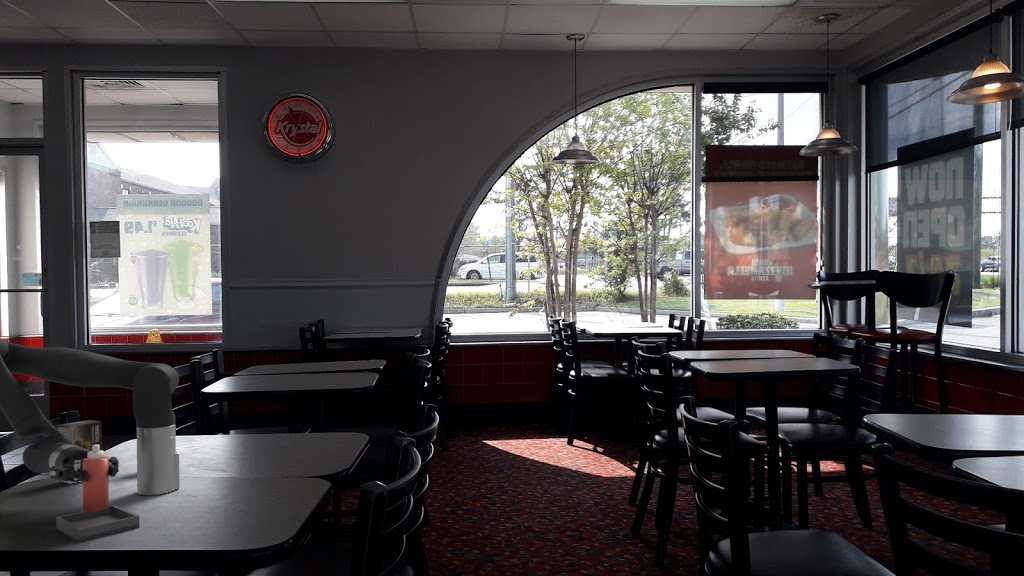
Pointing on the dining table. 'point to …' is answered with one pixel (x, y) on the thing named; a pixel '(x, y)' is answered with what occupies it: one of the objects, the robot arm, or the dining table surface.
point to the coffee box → (83, 433)
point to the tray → (97, 523)
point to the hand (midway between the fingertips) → (100, 474)
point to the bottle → (96, 481)
